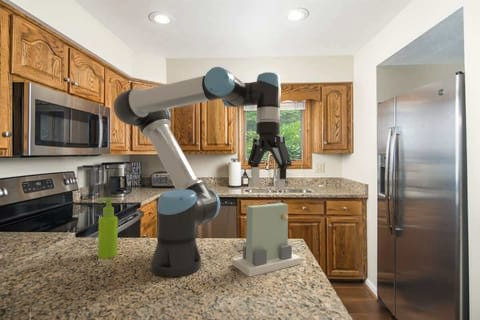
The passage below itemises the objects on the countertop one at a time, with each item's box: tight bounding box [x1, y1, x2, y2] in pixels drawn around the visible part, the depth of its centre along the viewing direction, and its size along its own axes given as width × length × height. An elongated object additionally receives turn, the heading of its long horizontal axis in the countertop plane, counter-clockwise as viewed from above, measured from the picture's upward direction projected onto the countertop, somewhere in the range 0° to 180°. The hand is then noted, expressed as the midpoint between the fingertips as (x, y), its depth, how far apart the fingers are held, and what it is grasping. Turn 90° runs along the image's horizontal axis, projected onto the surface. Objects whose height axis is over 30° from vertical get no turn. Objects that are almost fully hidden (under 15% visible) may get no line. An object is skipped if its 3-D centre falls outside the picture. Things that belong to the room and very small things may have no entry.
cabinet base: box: [231, 244, 302, 278], centre depth 85 cm, size 20×10×6 cm, turn 121°
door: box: [245, 202, 289, 264], centre depth 85 cm, size 14×5×17 cm, turn 121°
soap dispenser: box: [96, 197, 119, 260], centre depth 91 cm, size 6×7×20 cm
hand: (267, 188), depth 86 cm, fingers open, 13 cm apart
